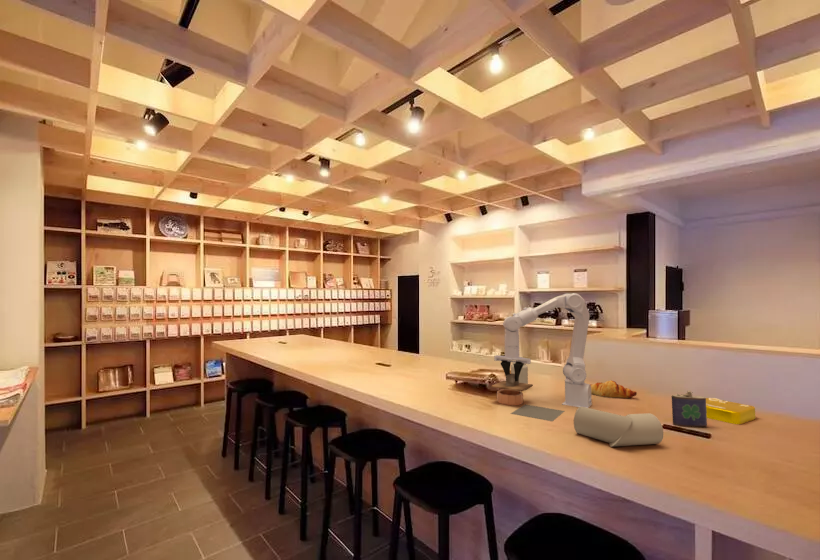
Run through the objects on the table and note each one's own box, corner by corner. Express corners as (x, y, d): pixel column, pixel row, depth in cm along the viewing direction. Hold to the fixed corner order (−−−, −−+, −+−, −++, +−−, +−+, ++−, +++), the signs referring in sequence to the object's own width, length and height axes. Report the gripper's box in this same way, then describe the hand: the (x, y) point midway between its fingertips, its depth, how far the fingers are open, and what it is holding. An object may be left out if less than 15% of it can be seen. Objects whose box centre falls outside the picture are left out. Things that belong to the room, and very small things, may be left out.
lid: (532, 385, 157) (532, 374, 157) (521, 391, 147) (521, 379, 147) (503, 382, 164) (503, 371, 165) (491, 387, 154) (491, 375, 155)
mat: (564, 412, 144) (564, 410, 144) (552, 422, 132) (552, 421, 132) (525, 405, 153) (525, 404, 153) (510, 414, 141) (510, 413, 141)
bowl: (526, 401, 158) (526, 391, 158) (517, 407, 150) (517, 396, 150) (503, 398, 164) (503, 388, 164) (493, 403, 156) (493, 393, 156)
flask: (704, 425, 129) (703, 390, 129) (709, 428, 126) (708, 392, 126) (671, 423, 131) (669, 388, 131) (675, 426, 128) (674, 391, 128)
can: (530, 390, 178) (529, 363, 178) (513, 390, 178) (513, 363, 178) (525, 386, 185) (525, 361, 186) (509, 386, 185) (509, 361, 186)
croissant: (581, 401, 172) (579, 386, 170) (585, 386, 180) (583, 372, 177) (636, 408, 160) (634, 392, 157) (638, 392, 167) (636, 377, 165)
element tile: (688, 414, 142) (687, 401, 142) (708, 408, 149) (707, 395, 149) (738, 426, 129) (737, 411, 129) (757, 419, 136) (757, 405, 136)
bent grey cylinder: (603, 450, 105) (670, 446, 108) (597, 409, 108) (662, 406, 110) (569, 442, 122) (627, 438, 124) (564, 406, 124) (621, 404, 127)
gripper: (491, 345, 158) (491, 379, 157) (526, 348, 149) (526, 384, 148) (498, 344, 163) (498, 376, 163) (532, 346, 155) (532, 381, 154)
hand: (512, 380), depth 156 cm, fingers closed on lid, 3 cm apart
